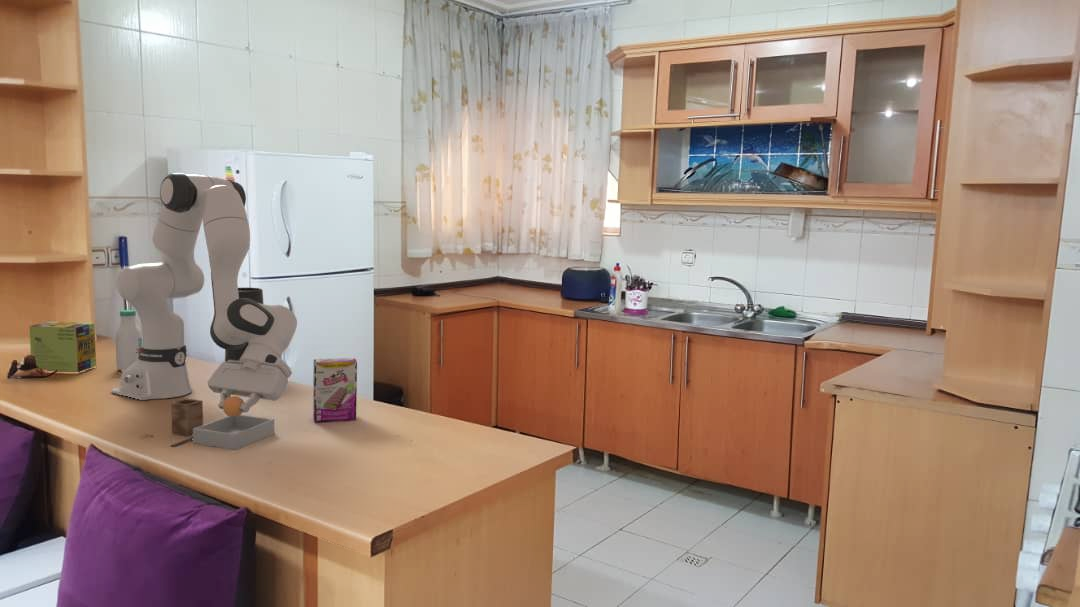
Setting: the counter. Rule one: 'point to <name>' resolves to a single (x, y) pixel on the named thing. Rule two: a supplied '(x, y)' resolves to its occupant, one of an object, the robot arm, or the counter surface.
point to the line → (182, 442)
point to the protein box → (63, 346)
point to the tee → (186, 416)
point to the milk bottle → (127, 340)
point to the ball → (232, 406)
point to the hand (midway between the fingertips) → (232, 409)
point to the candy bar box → (334, 389)
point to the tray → (233, 431)
